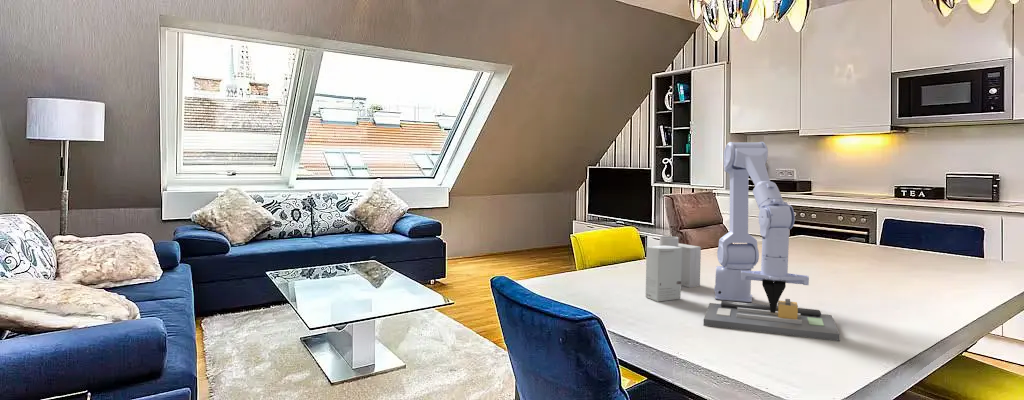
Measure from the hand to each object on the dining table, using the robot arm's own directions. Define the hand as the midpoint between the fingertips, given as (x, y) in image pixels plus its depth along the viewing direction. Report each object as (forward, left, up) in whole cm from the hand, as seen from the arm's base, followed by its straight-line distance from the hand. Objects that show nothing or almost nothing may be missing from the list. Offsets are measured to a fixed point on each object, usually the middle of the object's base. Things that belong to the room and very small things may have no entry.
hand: (772, 311), depth 133 cm
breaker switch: (+3, 0, -1) cm, 3 cm away
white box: (-29, +32, -3) cm, 43 cm away
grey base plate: (-1, 0, -3) cm, 3 cm away
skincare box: (-28, +14, -3) cm, 31 cm away
